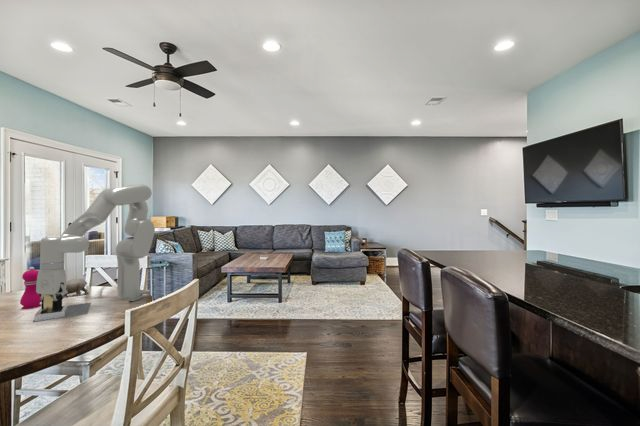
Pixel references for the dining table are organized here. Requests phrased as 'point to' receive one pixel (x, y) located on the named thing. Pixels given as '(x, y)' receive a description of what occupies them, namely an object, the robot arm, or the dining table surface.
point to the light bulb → (49, 303)
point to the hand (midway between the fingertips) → (51, 308)
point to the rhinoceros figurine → (76, 286)
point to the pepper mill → (30, 290)
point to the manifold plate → (63, 312)
